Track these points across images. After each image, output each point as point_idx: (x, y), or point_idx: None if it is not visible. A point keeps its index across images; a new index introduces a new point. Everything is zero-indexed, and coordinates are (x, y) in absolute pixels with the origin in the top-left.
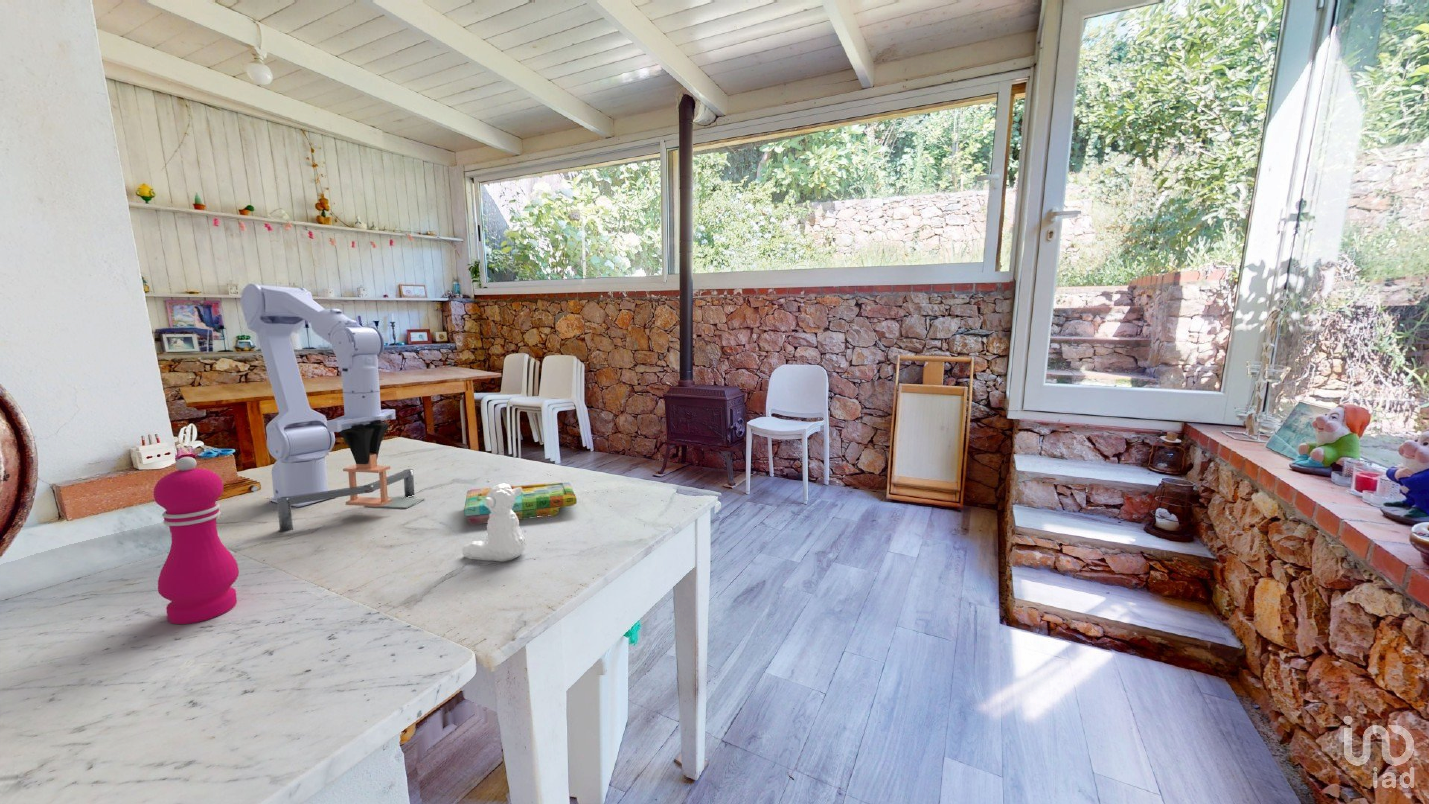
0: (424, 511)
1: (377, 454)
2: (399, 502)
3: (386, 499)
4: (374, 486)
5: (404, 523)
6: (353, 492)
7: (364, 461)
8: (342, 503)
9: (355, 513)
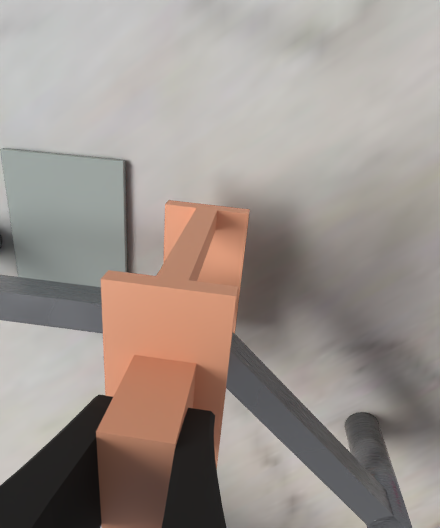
0: (143, 50)
1: (77, 426)
2: (72, 227)
3: (203, 211)
4: None
5: (310, 48)
6: (246, 355)
7: (213, 435)
8: None
9: None
